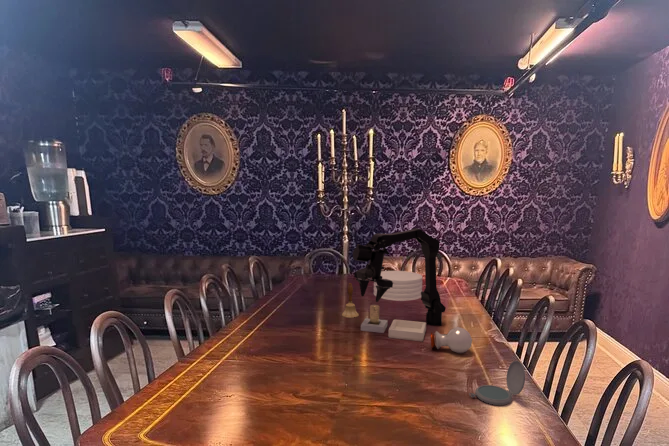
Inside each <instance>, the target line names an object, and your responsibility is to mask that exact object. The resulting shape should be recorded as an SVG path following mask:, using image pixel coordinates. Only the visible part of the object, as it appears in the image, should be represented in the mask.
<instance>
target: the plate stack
mask: <svg viewBox="0 0 669 446" xmlns="http://www.w3.org/2000/svg"><path fill="white" fill-rule="evenodd" d="M381 276H382V279H388V280H391V281H392V282H393V286H392V288H391V287H390V289H388V290H387V291H386V292H385V293H384V294H383V296H382V297H381V298H380V299H383V300H388V301H394V302H395V301H398V302H403V301H404V302H405V301H406V302H407V301H414V300H419V299H421V292H423V275H422V274H420V273H417V272H412V271H408V270H407V271H405V270H381ZM376 286H378V285H377V283H376V282H373V295H374V296H375V297H376V294H377V288H376Z"/></svg>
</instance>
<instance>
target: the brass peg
mask: <svg viewBox="0 0 669 446" xmlns="http://www.w3.org/2000/svg"><path fill="white" fill-rule="evenodd" d="M369 319H370V324H374V325H379V319H380V305H379V304H371V305H369Z"/></svg>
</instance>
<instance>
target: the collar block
mask: <svg viewBox="0 0 669 446" xmlns="http://www.w3.org/2000/svg"><path fill="white" fill-rule="evenodd" d="M387 327H388V319H380V318H379V325H374V324H370V317H369V318H368V317H365V319H364V320H363V321H362V323H361V324H360V331H361V332H362V331H363V332H370V333H380V334H381V333H382V334H384V333H385V331H386V330H387Z"/></svg>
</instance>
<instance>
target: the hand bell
mask: <svg viewBox="0 0 669 446" xmlns="http://www.w3.org/2000/svg"><path fill="white" fill-rule="evenodd" d="M353 292H354V288H353V284H352V283H351V282H348V285H347V295H348V303H346V304H345V308H344V311H343V312H342V313H341V317H343V318H349V319H354V317H355V318H358V317H359V312H357V309H356V305H355V303H353Z"/></svg>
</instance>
